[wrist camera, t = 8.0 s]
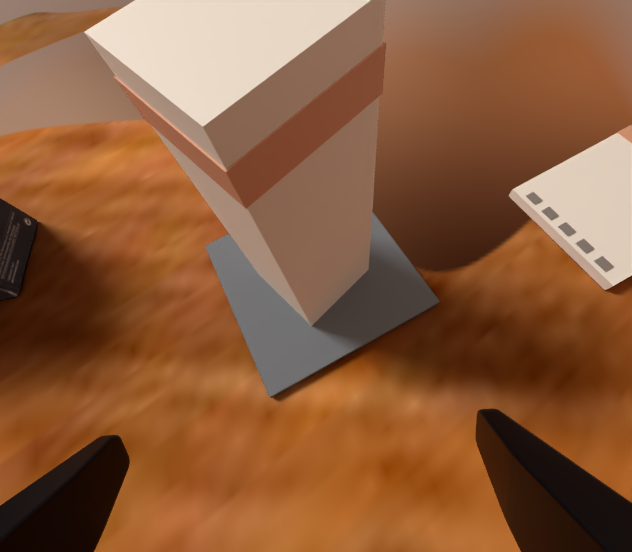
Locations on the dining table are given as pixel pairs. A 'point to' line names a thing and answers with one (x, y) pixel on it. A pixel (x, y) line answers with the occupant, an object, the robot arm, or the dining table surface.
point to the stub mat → (334, 325)
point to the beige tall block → (266, 124)
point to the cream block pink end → (588, 207)
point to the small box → (14, 247)
